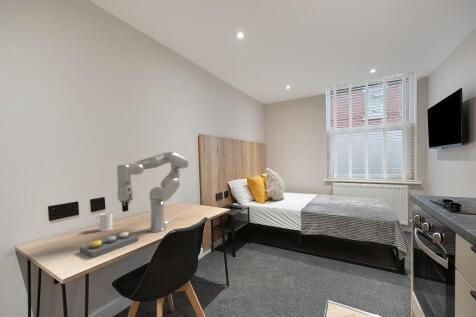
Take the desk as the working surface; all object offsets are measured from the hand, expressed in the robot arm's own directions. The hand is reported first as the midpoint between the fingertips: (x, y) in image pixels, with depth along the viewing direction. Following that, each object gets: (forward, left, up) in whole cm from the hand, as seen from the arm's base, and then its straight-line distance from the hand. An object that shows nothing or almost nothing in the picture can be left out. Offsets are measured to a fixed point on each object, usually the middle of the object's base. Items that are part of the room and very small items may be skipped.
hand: (125, 211), depth 131 cm
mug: (-3, -33, -19) cm, 38 cm away
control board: (+11, +3, -19) cm, 22 cm away
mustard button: (+19, +3, -15) cm, 24 cm away
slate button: (+11, +3, -15) cm, 19 cm away
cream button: (+3, +3, -15) cm, 16 cm away
